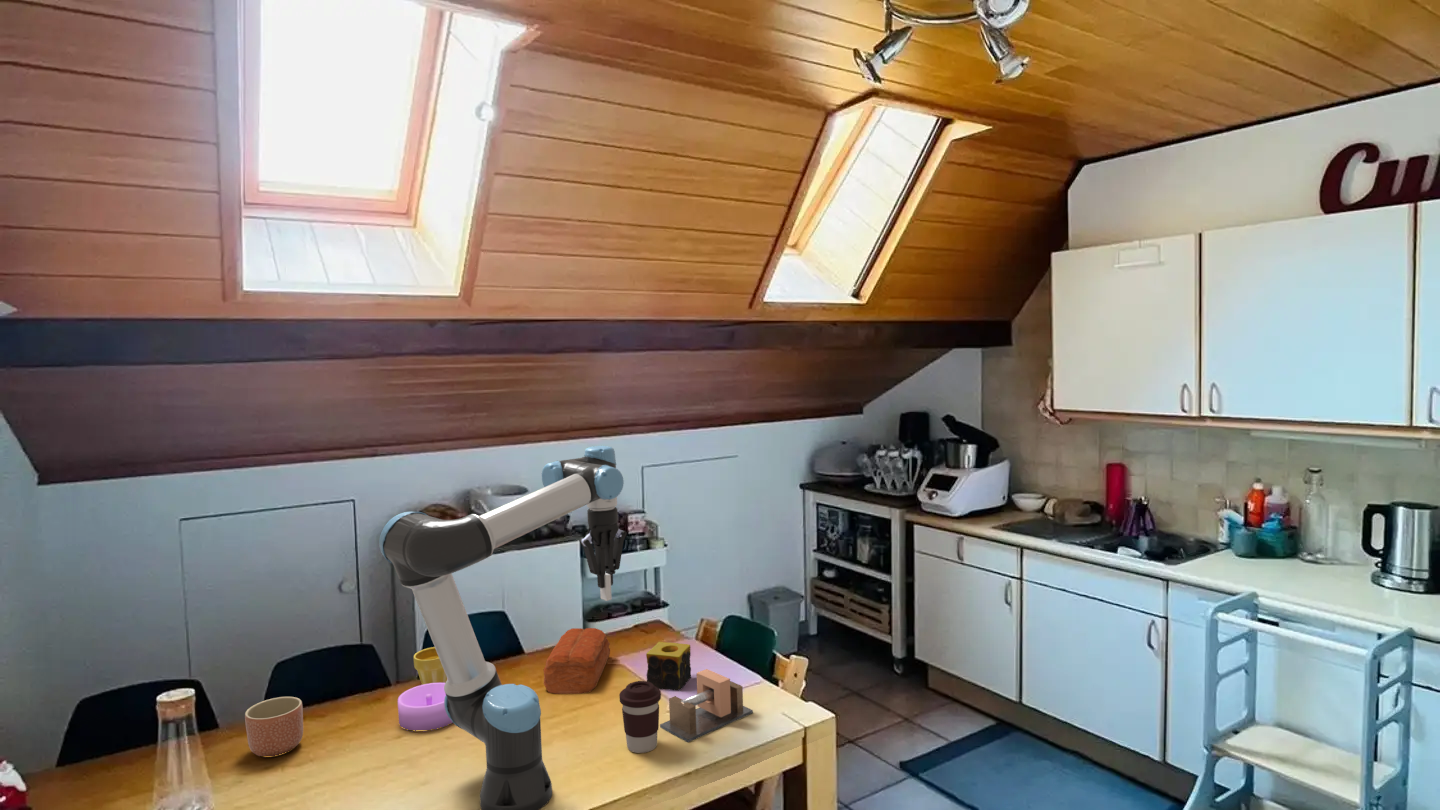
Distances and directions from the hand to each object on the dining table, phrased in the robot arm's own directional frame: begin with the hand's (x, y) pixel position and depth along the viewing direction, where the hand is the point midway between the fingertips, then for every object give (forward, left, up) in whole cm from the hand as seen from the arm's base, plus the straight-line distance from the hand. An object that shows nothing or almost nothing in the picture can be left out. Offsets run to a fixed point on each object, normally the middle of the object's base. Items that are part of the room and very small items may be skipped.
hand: (606, 599), depth 211 cm
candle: (+26, +8, -33) cm, 42 cm away
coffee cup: (-2, -16, -33) cm, 36 cm away
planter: (-67, +46, -33) cm, 88 cm away
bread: (+10, +32, -33) cm, 47 cm away
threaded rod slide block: (+18, -17, -32) cm, 41 cm away
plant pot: (-23, +55, -33) cm, 68 cm away
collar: (+21, -17, -30) cm, 40 cm away
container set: (-28, +34, -33) cm, 55 cm away
